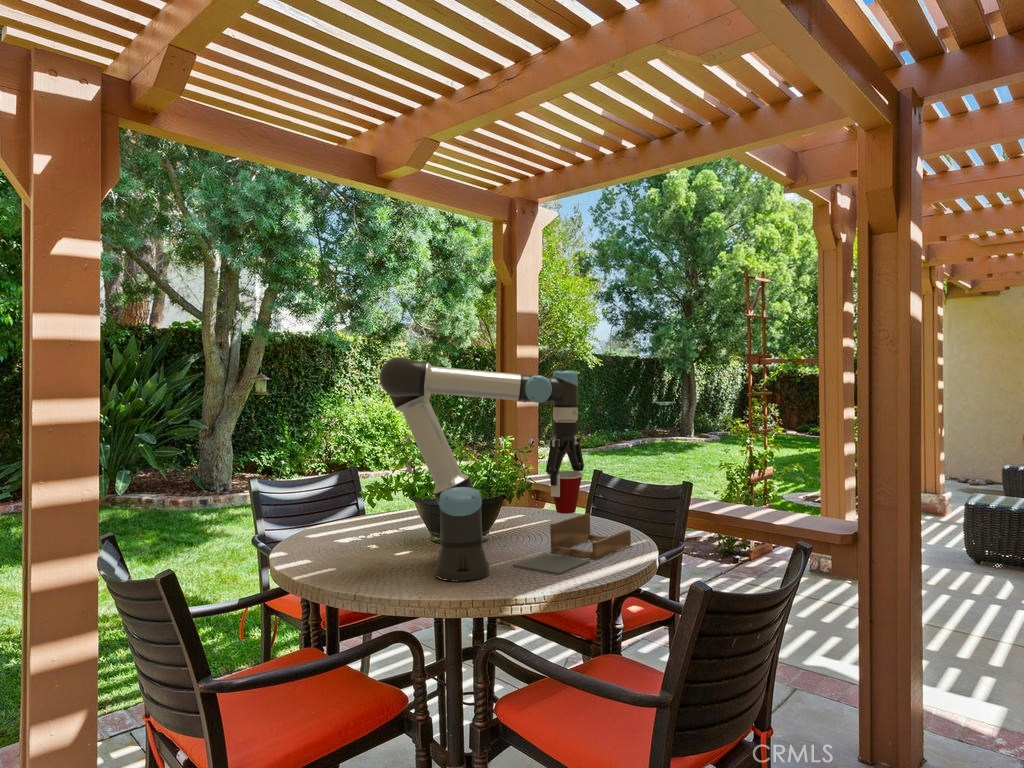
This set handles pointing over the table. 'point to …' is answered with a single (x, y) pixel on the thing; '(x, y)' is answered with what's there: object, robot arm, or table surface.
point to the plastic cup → (568, 491)
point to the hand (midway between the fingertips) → (565, 494)
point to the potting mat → (551, 563)
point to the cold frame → (584, 538)
